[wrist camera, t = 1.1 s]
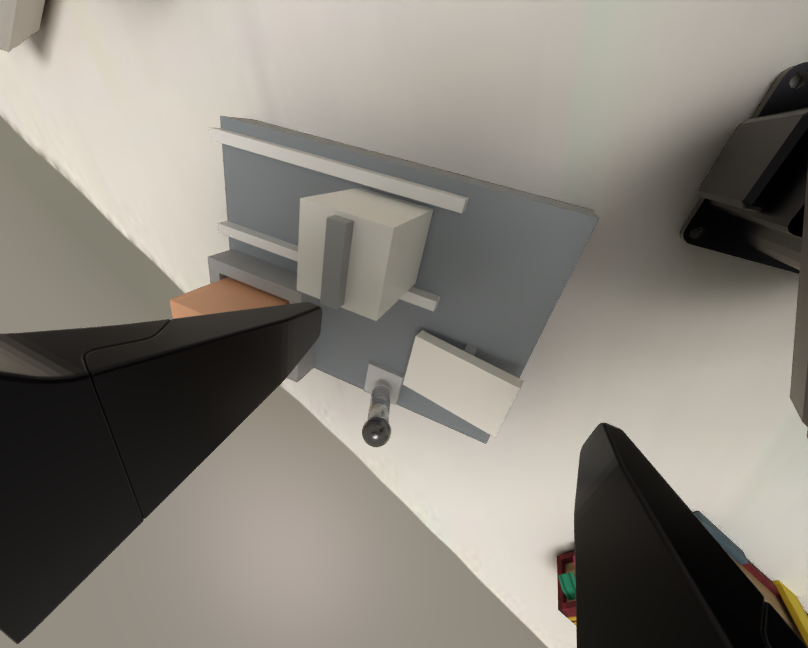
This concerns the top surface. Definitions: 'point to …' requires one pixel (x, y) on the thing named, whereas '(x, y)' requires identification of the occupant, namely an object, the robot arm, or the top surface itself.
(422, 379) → the rocker
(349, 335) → the panel
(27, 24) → the stamp
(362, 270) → the slider
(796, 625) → the decorative book
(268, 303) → the button
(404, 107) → the top surface
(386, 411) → the toggle
